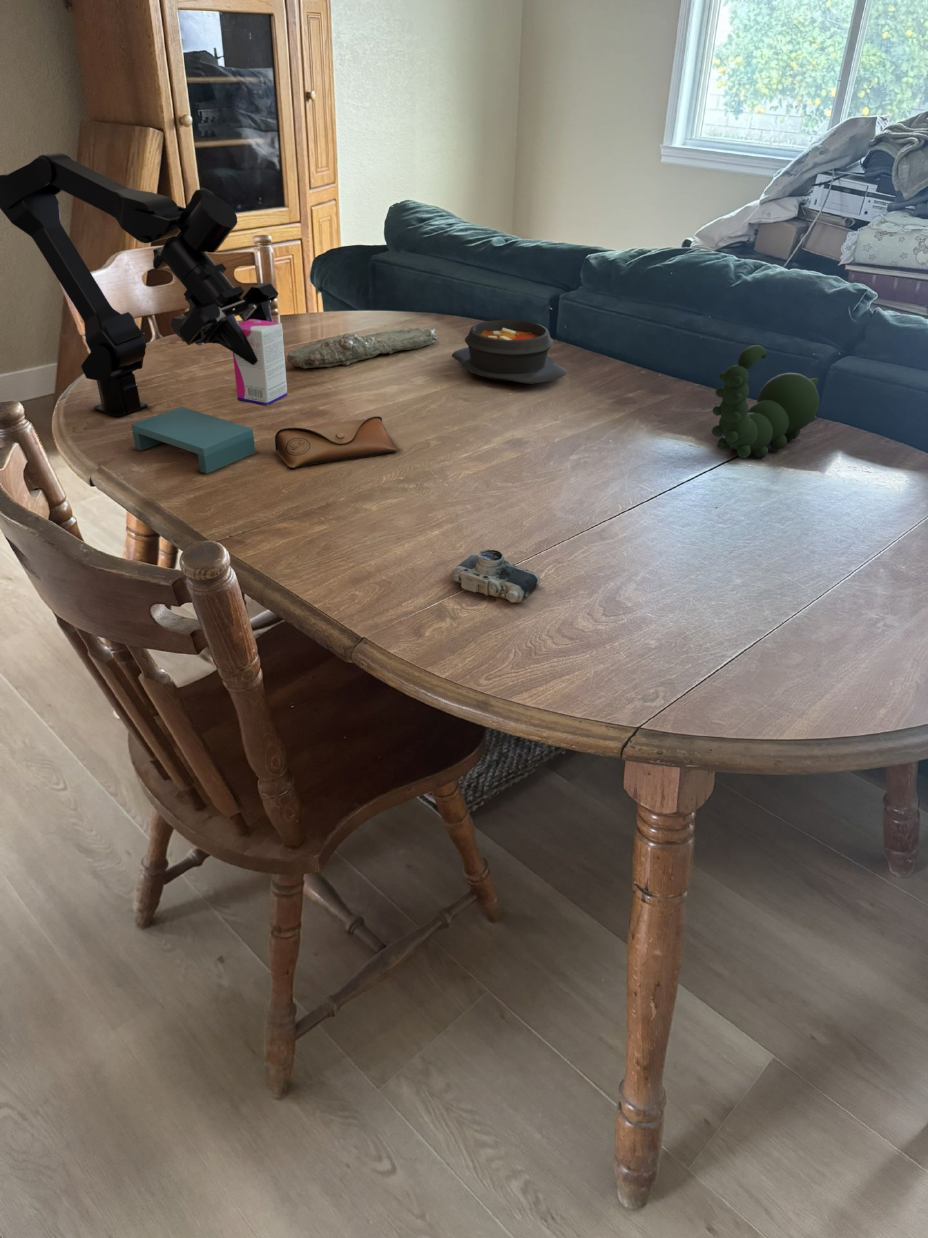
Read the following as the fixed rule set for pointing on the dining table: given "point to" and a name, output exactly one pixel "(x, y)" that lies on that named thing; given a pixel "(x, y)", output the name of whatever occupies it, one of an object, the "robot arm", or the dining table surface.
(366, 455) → the sunglasses case
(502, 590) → the camera
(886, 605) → the dining table surface
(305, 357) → the elongated rock
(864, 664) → the dining table surface
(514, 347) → the casserole
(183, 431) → the shelf
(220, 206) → the robot arm
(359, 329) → the dining table surface
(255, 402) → the supplement box
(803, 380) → the toy figurine
